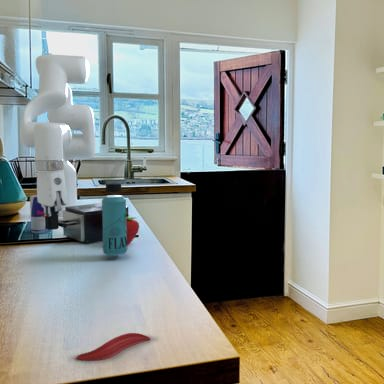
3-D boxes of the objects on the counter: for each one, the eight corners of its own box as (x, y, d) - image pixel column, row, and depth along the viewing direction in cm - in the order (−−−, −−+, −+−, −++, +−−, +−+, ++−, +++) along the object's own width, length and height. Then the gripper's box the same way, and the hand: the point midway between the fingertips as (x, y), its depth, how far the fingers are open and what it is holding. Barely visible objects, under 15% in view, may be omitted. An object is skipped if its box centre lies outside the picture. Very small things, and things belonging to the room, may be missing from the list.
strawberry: (111, 244, 142) (110, 210, 141) (136, 241, 146) (135, 209, 145) (117, 248, 137) (116, 214, 136) (142, 245, 141) (142, 212, 140)
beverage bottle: (105, 262, 123) (103, 184, 120) (100, 256, 129) (98, 182, 126) (130, 259, 126) (129, 183, 123) (124, 253, 132) (122, 181, 129)
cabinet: (86, 244, 142) (85, 212, 140) (66, 237, 150) (65, 206, 149) (128, 236, 152) (128, 206, 151) (107, 230, 161) (107, 202, 159)
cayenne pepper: (78, 364, 70) (78, 352, 70) (72, 351, 74) (72, 339, 74) (157, 347, 76) (157, 335, 76) (147, 336, 80) (147, 325, 80)
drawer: (67, 243, 138) (66, 217, 137) (49, 237, 146) (48, 212, 145) (121, 234, 151) (120, 210, 150) (102, 229, 159) (102, 205, 157)
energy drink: (42, 234, 154) (41, 197, 152) (27, 233, 155) (26, 196, 153) (52, 230, 159) (51, 194, 158) (38, 229, 160) (36, 194, 159)
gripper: (74, 167, 135) (76, 231, 138) (50, 164, 146) (53, 223, 148) (48, 168, 130) (51, 235, 132) (25, 165, 140) (28, 227, 143)
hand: (52, 228), depth 140 cm, fingers closed
